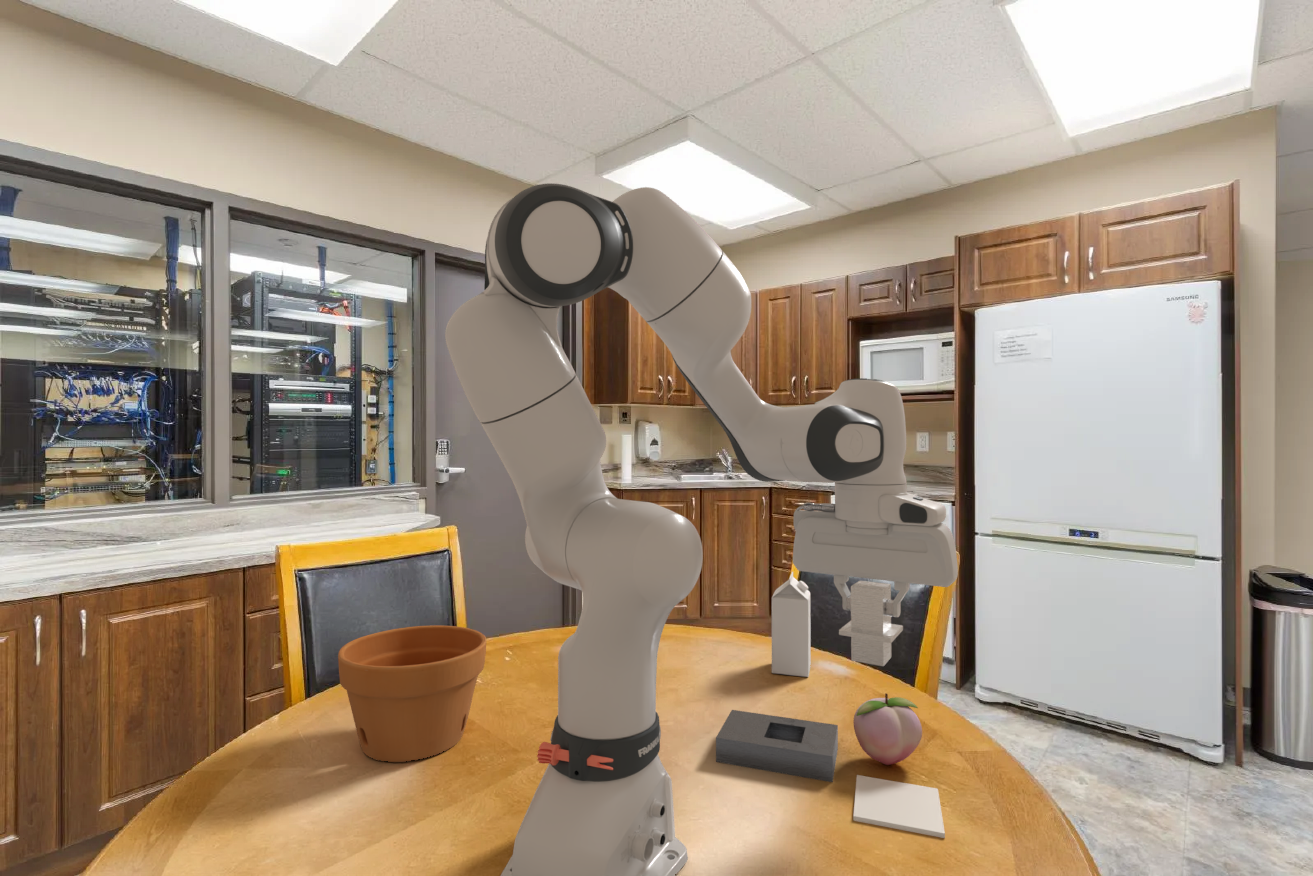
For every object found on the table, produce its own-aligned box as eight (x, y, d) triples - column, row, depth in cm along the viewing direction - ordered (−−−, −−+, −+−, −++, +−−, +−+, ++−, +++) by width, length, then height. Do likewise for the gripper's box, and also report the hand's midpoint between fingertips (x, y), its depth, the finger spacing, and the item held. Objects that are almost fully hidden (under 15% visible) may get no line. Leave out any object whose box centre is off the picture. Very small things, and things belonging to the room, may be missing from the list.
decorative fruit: (891, 745, 95) (890, 678, 95) (933, 771, 87) (932, 698, 87) (839, 756, 91) (839, 687, 91) (878, 784, 84) (877, 709, 84)
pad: (944, 838, 72) (944, 833, 72) (853, 821, 76) (853, 816, 76) (937, 793, 82) (937, 788, 82) (856, 779, 85) (856, 775, 85)
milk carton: (771, 674, 124) (771, 577, 124) (775, 662, 131) (775, 570, 131) (808, 678, 122) (808, 579, 122) (810, 665, 129) (810, 572, 129)
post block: (832, 782, 84) (832, 756, 84) (715, 762, 90) (716, 737, 90) (837, 748, 94) (837, 725, 94) (732, 732, 99) (731, 709, 99)
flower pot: (425, 701, 111) (426, 617, 111) (514, 729, 100) (515, 635, 100) (306, 751, 93) (307, 650, 93) (399, 792, 82) (400, 677, 82)
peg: (903, 656, 82) (902, 583, 82) (891, 671, 77) (890, 593, 77) (853, 647, 86) (853, 577, 86) (839, 661, 81) (838, 587, 81)
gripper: (784, 503, 85) (785, 607, 85) (951, 512, 73) (952, 631, 73) (801, 500, 90) (802, 597, 90) (959, 507, 79) (960, 618, 79)
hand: (871, 612), depth 81 cm, fingers closed on peg, 4 cm apart
